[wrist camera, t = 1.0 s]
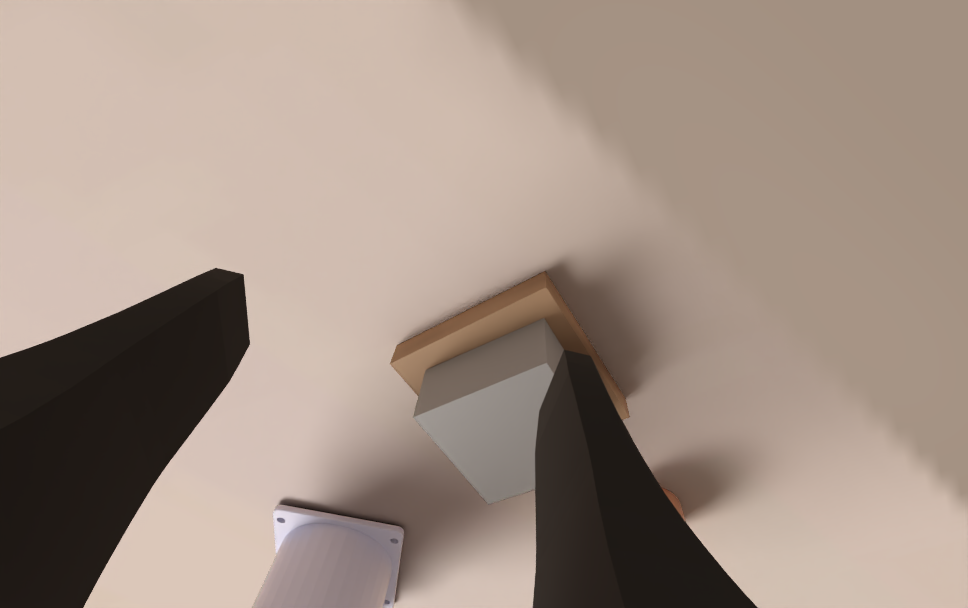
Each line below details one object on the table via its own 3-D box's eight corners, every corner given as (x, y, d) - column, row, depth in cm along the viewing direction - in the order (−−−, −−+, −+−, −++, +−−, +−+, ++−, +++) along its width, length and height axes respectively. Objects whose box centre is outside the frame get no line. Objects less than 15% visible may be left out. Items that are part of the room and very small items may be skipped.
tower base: (623, 388, 25) (629, 417, 24) (487, 442, 28) (484, 471, 26) (544, 264, 22) (545, 287, 20) (399, 338, 25) (390, 363, 23)
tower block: (603, 413, 24) (612, 464, 21) (492, 453, 26) (488, 504, 23) (544, 317, 21) (546, 362, 19) (425, 370, 23) (413, 417, 21)
